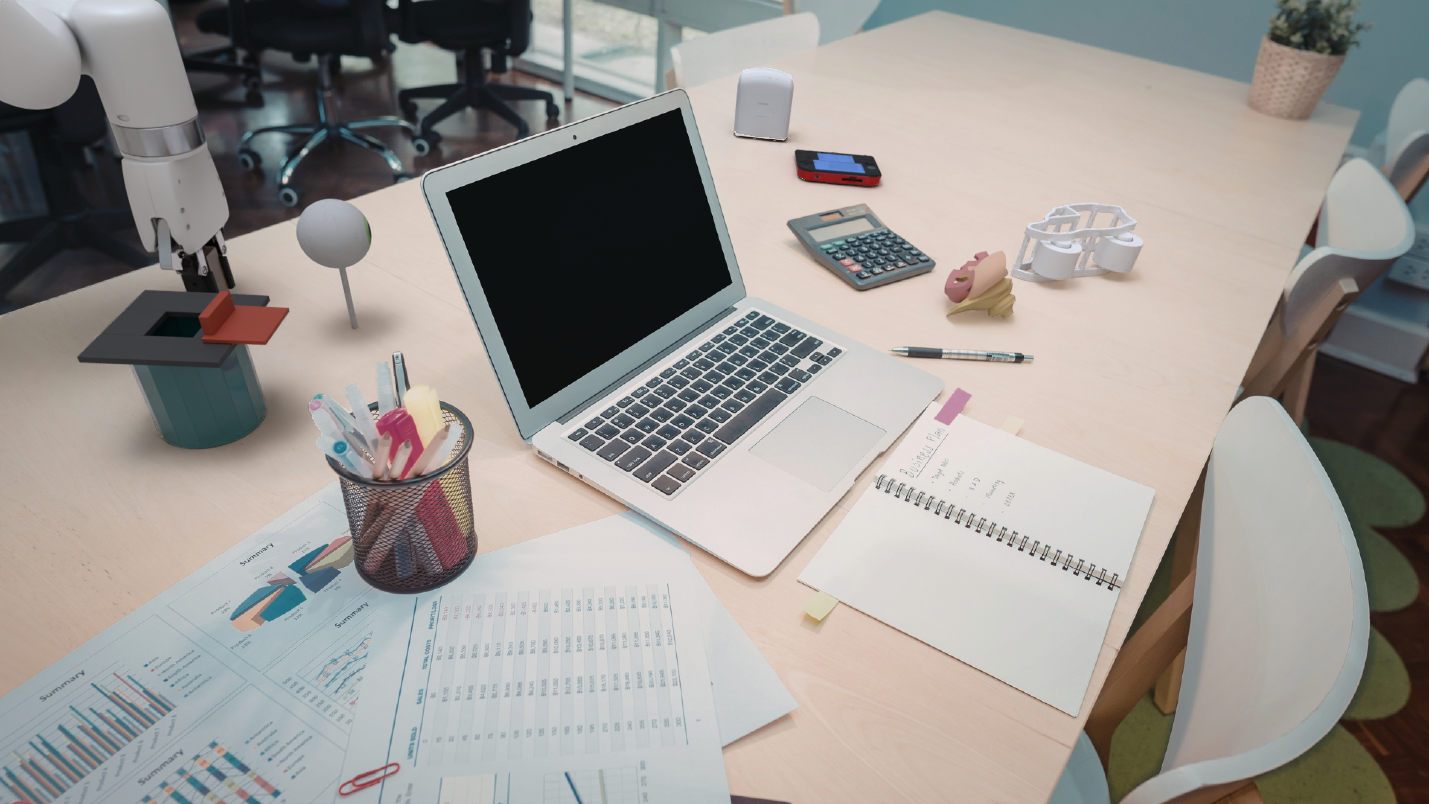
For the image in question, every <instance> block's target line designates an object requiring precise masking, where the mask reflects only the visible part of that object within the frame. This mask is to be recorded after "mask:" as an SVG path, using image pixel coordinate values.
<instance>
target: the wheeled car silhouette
mask: <svg viewBox="0 0 1429 804" xmlns="http://www.w3.org/2000/svg"><path fill="white" fill-rule="evenodd" d="M1082 212H1090V215H1089V216H1088V219H1087V222H1086V225H1085V227H1084V228H1078V229H1077V227H1078V224H1079V222H1080V219H1081V216H1082V214H1081V213H1082ZM1098 213H1100V214H1113V217H1112V220H1111V222H1110V224H1109V227H1099V228H1098V227H1096V228H1095V227H1093V225H1094V222H1095V220H1096V217H1097V214H1098ZM1119 220H1120V222H1122V225H1119V226H1117V225H1118V223H1119ZM1137 223H1138V220H1136V219H1135V218H1133V217H1131V216H1130V215H1129V213H1127V212H1126V210H1125V208H1124V207H1123V206H1120V205H1116V204H1103V203H1101V202H1081V203H1069V204H1068V203H1067V204H1062V205H1061V206H1055V207H1054V206H1053V207H1052V208H1051V210H1050V211H1049V212H1047V213H1046V214H1045V215H1044V218H1043V220H1041V221H1034V222H1029V223H1028V224H1027V225H1026V226H1025V230H1024V233H1023V234H1024V237H1023V241H1022V243H1021V246H1020V248H1019V251H1018V255H1017V257H1016V261H1015V263H1014V264H1013V267H1012V269H1011V272H1010V275H1011V276H1012V277H1014V278H1017V279H1020V280H1023V281H1025V282H1031V283H1032V282H1033V283H1048V282H1056V281H1061V280H1062V281H1064V280H1065V281H1066V280H1069V279H1070V278H1084V277H1097V276H1102V275H1105V274H1107V273H1109V272H1114V273H1128V272H1131V271H1132V270H1133V268H1134V267H1135V264H1136V262H1137V259H1138V257H1139V255H1140V253H1141V250H1142V248H1143V247H1144V244H1145V241H1144V240H1143V238H1141V236H1139V235H1138V234H1135V233H1133V231H1134V230H1135V228H1136V226H1137ZM1067 224H1070V226H1069V229H1068V231H1065V232H1061V228H1062V226H1063V225H1067ZM1049 226H1054V229H1053V232H1051V231H1047V230H1048V227H1049ZM1092 227H1093V228H1092ZM1031 238H1032V239H1035V240H1036V241H1035V243H1034V246H1033V249H1032V252H1031V255H1030V257H1029V260H1028V261H1024V257H1025V255H1026V252H1027V249H1028V248H1029V247H1028V246H1029V243H1030V242H1031V241H1030V240H1031ZM1088 238H1089V239H1088ZM1098 238H1099V240H1098V242H1096V241H1097V239H1098ZM1077 239H1080V240H1077ZM1087 239H1088V242H1087ZM1082 251H1083V252H1084V253H1083V254H1082ZM1092 252H1093V254H1092V256H1091V253H1092ZM1081 254H1082V257H1081V260H1080V261H1079V259H1080V256H1081ZM1090 256H1091V260H1092V262H1093V263H1094V264H1095V265H1097V267H1086V265H1087V263H1088V260H1089V258H1090ZM1023 261H1024V262H1023ZM1078 261H1079V265H1078V267H1077V268H1076V266H1077V264H1078ZM1030 269H1031V270H1032V271H1033V272H1031V271H1028V270H1030Z"/></svg>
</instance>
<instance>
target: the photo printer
mask: <svg viewBox="0 0 1429 804" xmlns="http://www.w3.org/2000/svg"><path fill="white" fill-rule="evenodd" d="M794 85H795V84H794V81H793V75H792V74H790V73H788V72H787V71H784V70H780V69H776V68H773V67H751V68H746V69H743V70H741V73H740V76H739V78H738V83H737V89H736V97H735V98H736V100H735V111H734V123H733V124H734V125H733V132H734V131H736V133H738V134H744V135H750V136H755V137H769V138H775V139H785V138H786V137H789V129H790V122H791V115H792V106H793V98H794V97H793V96H794V90H795V86H794Z"/></svg>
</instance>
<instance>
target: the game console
mask: <svg viewBox="0 0 1429 804" xmlns="http://www.w3.org/2000/svg"><path fill="white" fill-rule="evenodd" d="M795 158H796V159H795ZM794 159H795V164H796V171H797V176H798V177H799V178H800V177H801V178H803V179H805V180H804V181H806V180H808V181H807V182H812V181H818V182H817V183H823V182H826V183H825V184H834V185H836V184H838V185H846V186H848V185H849V186H859V187H874V186H876V185H879V183H880V181H881V178H882V176H883V174H882V172H881V170H880V168H879V165H878V163H877V161H876V158H875V157H874V156H873V155H867V154H856V153H843V152H835V151H832V152H831V151H820V150H809V149H808V150H807V149H799V148H798V149H797V148H796V149H795V150H794ZM801 178H800V179H801ZM803 179H802V180H803Z"/></svg>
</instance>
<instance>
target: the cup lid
mask: <svg viewBox="0 0 1429 804" xmlns="http://www.w3.org/2000/svg"><path fill="white" fill-rule="evenodd" d="M218 294H219V293H202V292H186V291H181V290H180V291H179V290H178V291H177V290H176V291H175V290H157V289H144V290H143V291H142V292H141V293H140V294H139V295H138V296H137V297H136V298H135V299H134V300H132V302H130V304H129V305H128V306H127V307H126V308H125V309H124V310H123V311H122V312H121V313H119V314H118V316H116V317H115V319H113V321H112V322H111V323H109V324H108V325H107V326H106V328H104V329H103V331H101V332H100V333H99V334H98V336H96V338H94V339H93V340H92V341H91V342H90V344H89V343H88V345H87V346H86V347H85V348H84V349H83V350H82V351H81V352H80V353H79V354H78V355H77V356H76V359H77V360H78V362H79V363H80V364H104V365H127V366H128V365H129V366H130V365H153V366H179V367H205V368H220V367H221V366H222V364H223V363H224V362H225V360H226V359H227V358H228V356H229V355H230V354H231V352H232V351H233V350H234V348H235V347H236V346H237V344H227V343H203V342H202V337H203V336H204V335H205V334H204V332H203V329H202V328H201V329H200V330H199V331H198V332H197V334H196V335H195V336H194V337H193V338H187V337H163V336H151V335H152V334H153V333H154V332H155V331H156V329H157V328H158V327H159V326H160V325H161V324H162V323H163V322H164V321H165V320H166V319H167V317H191V318H198V317H199V316H200V314H201V313H202V312H203V311H204V310H205V309H206V307H207V306H208V305H209V304H210V303H211V302H212V301H213V299H214V298H215V297H216V296H217V295H218ZM230 294H231V297H232V300H233V304H234V305H239V306H261V307H268V305H269V304H270V302H271V298H270V295H268V294H267V295H264V294H262V295H261V294H246V293H245V294H244V293H243V294H242V293H230Z"/></svg>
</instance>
